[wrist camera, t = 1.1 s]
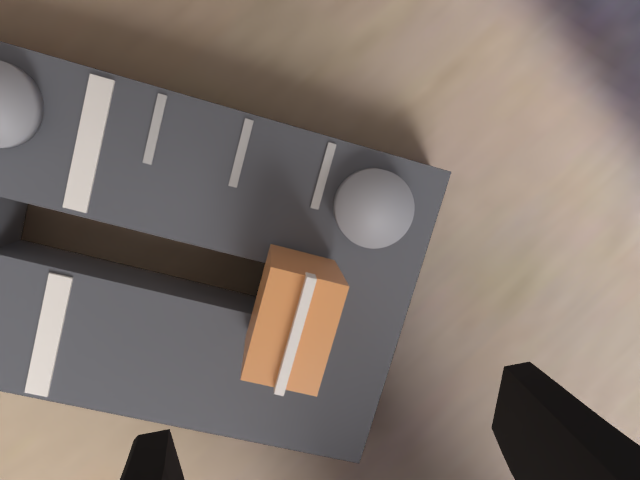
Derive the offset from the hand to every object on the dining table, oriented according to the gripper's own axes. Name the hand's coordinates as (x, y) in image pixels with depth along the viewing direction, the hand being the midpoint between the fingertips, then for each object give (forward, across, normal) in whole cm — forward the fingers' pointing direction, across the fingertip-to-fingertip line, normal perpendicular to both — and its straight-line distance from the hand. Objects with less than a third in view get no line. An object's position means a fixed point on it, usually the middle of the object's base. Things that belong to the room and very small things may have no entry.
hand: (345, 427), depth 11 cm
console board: (+11, +4, +2) cm, 12 cm away
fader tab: (+10, 0, +4) cm, 11 cm away
